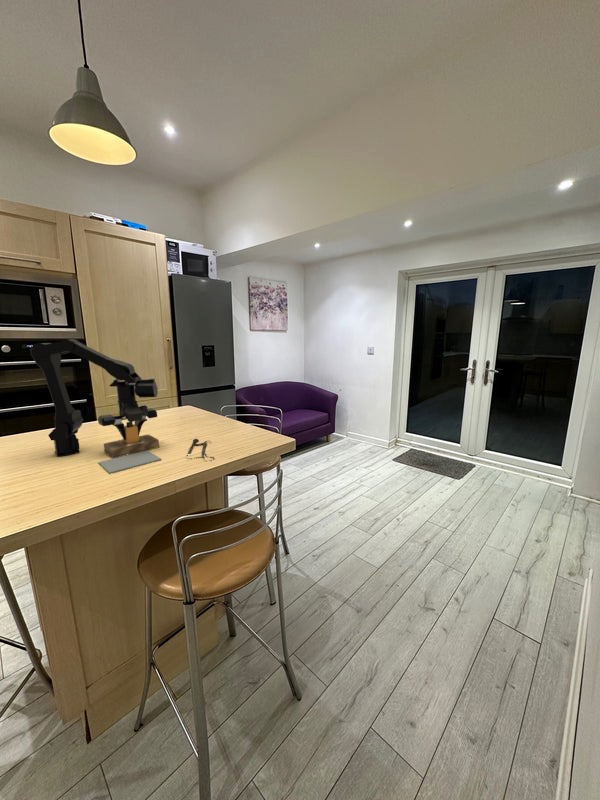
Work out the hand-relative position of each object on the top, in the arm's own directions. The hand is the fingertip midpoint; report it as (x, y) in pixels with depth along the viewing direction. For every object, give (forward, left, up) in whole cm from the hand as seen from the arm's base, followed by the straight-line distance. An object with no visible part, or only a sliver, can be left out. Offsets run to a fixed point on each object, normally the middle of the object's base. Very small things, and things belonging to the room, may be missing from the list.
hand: (131, 438), depth 120 cm
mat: (-5, -13, -4) cm, 14 cm away
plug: (0, 0, -4) cm, 4 cm away
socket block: (0, 0, -4) cm, 4 cm away
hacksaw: (+18, -20, -5) cm, 27 cm away
